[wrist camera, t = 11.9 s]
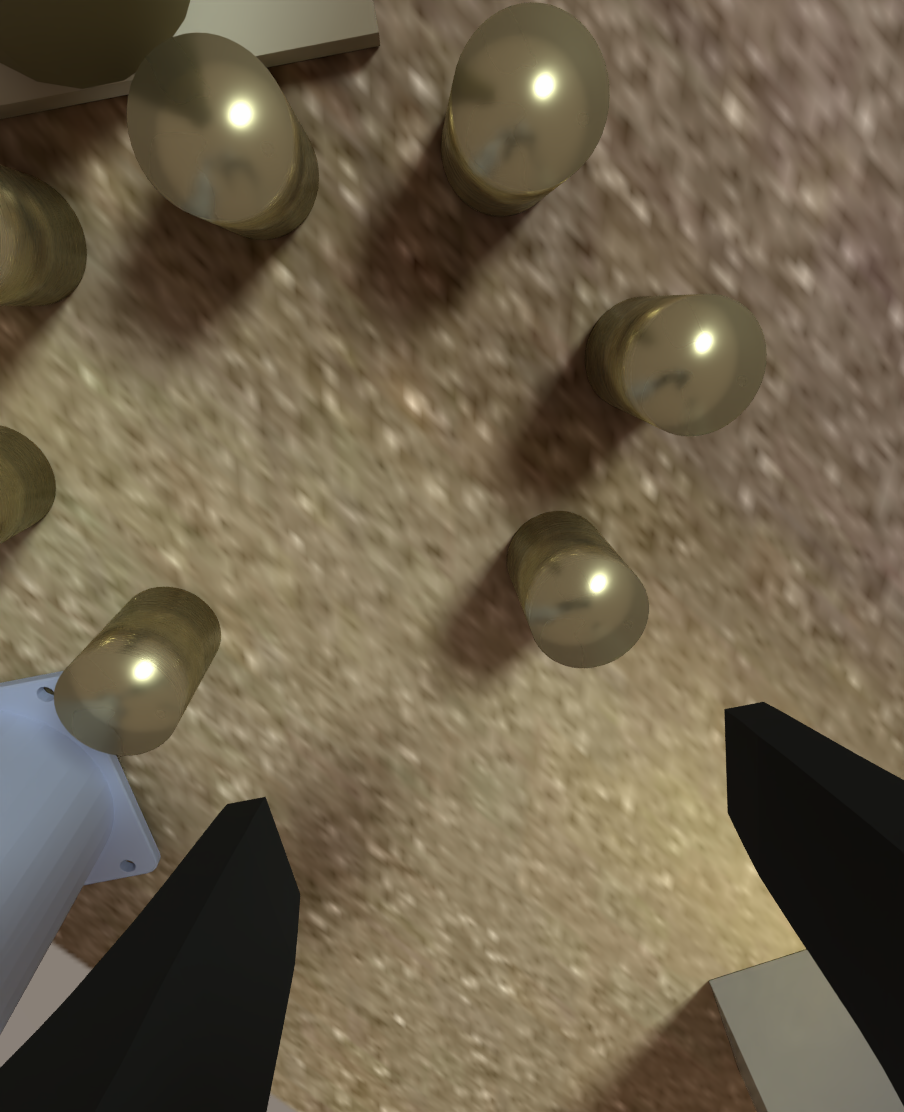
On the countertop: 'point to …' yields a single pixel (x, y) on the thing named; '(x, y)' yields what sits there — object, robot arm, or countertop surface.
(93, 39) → the cork
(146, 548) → the countertop surface
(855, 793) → the robot arm
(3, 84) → the pale grey metal board
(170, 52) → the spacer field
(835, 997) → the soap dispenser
